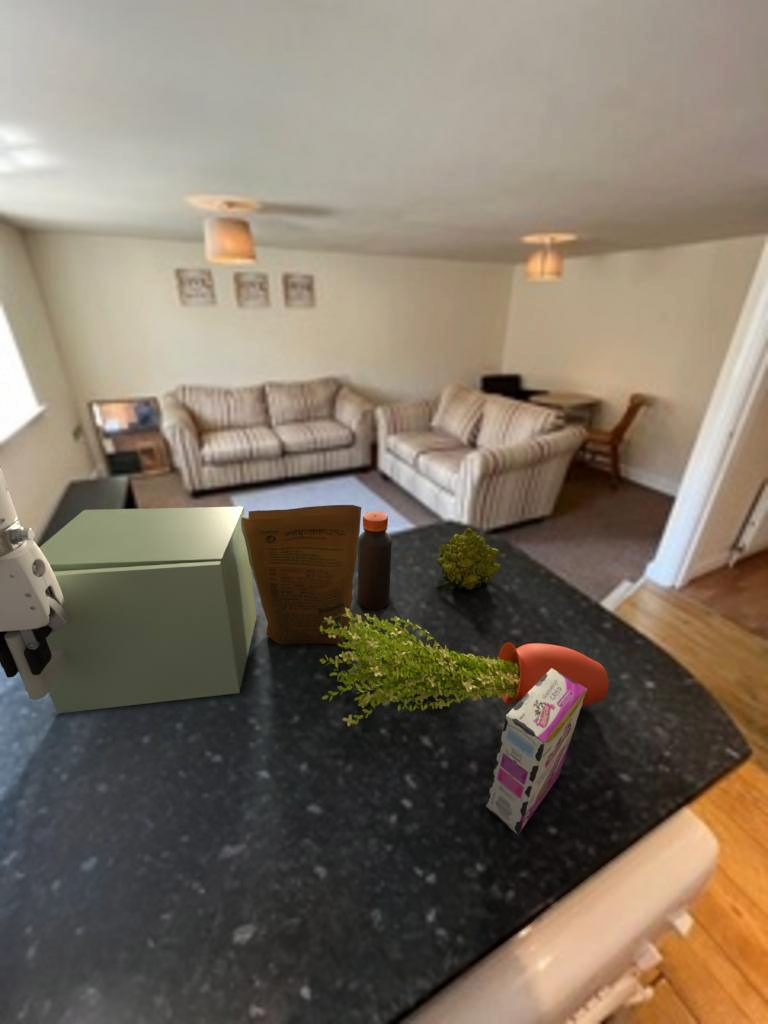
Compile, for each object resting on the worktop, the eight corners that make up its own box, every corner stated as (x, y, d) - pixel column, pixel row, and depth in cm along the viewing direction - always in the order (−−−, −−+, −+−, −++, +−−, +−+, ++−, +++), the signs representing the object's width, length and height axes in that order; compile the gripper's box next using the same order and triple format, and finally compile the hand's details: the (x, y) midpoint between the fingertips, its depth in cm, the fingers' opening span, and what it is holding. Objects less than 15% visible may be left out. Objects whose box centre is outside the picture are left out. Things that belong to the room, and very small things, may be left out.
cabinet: (240, 687, 73) (221, 558, 63) (66, 699, 70) (17, 565, 60) (256, 618, 89) (243, 506, 79) (116, 624, 86) (84, 509, 76)
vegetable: (433, 590, 93) (449, 520, 94) (424, 587, 108) (438, 527, 110) (502, 607, 92) (517, 537, 94) (484, 602, 108) (497, 541, 110)
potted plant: (552, 672, 86) (316, 649, 81) (576, 611, 80) (325, 583, 75) (601, 764, 68) (304, 741, 63) (637, 694, 62) (314, 664, 58)
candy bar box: (519, 839, 53) (544, 744, 46) (484, 808, 56) (502, 715, 50) (562, 777, 60) (589, 687, 54) (528, 752, 64) (550, 665, 57)
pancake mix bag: (360, 650, 82) (361, 511, 70) (254, 652, 80) (237, 511, 69) (360, 626, 88) (361, 494, 76) (262, 627, 87) (247, 494, 75)
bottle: (366, 614, 91) (368, 526, 83) (352, 596, 96) (352, 512, 88) (395, 604, 94) (399, 519, 86) (379, 588, 100) (381, 506, 91)
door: (233, 730, 65) (211, 594, 55) (32, 755, 61) (-32, 612, 51) (239, 688, 73) (221, 560, 62) (60, 708, 68) (8, 574, 58)
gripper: (75, 522, 54) (109, 642, 61) (-79, 528, 51) (-23, 653, 59) (43, 553, 47) (86, 684, 55) (-136, 562, 44) (-64, 698, 52)
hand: (29, 667), depth 57 cm, fingers closed on door, 2 cm apart
